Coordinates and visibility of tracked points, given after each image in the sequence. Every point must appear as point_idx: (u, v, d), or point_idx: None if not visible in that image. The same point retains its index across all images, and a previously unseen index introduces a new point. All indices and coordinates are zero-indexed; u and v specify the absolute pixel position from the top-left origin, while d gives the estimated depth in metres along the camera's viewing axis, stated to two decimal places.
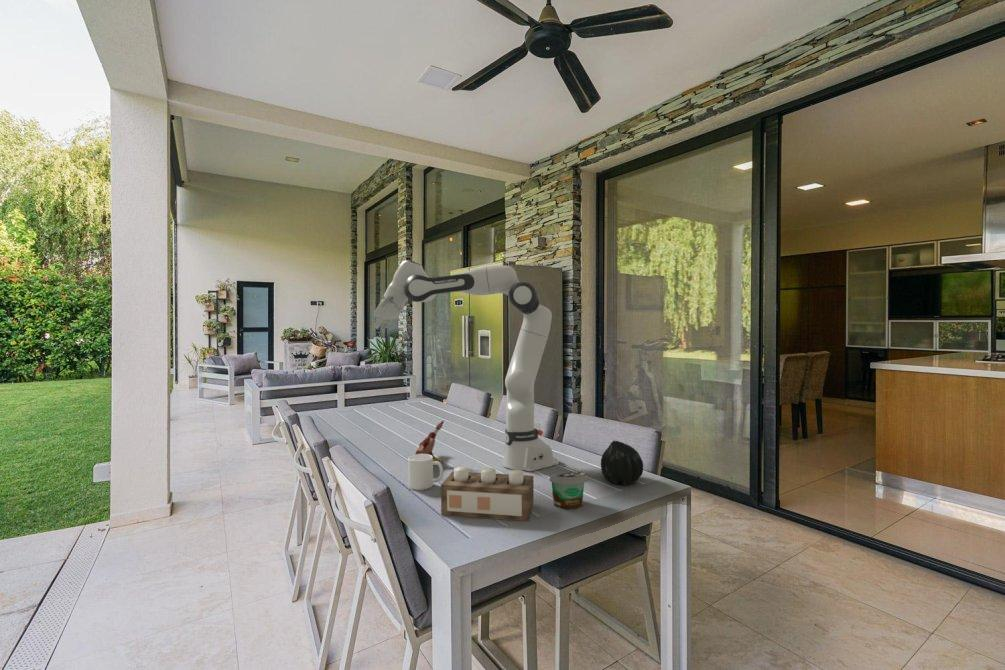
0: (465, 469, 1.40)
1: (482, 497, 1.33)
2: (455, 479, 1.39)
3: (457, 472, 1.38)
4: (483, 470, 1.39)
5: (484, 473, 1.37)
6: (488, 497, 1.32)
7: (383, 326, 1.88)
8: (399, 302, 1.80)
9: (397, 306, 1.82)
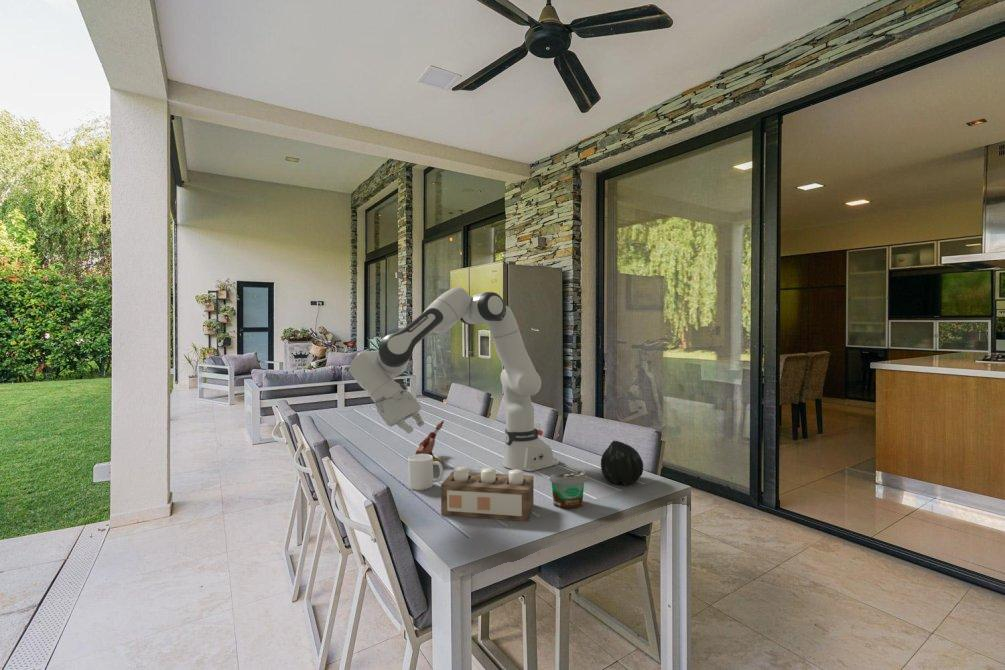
0: (465, 469, 1.40)
1: (482, 497, 1.33)
2: (455, 479, 1.39)
3: (457, 472, 1.38)
4: (483, 470, 1.39)
5: (484, 473, 1.37)
6: (488, 497, 1.32)
7: (420, 424, 1.47)
8: (392, 391, 1.41)
9: (397, 396, 1.42)
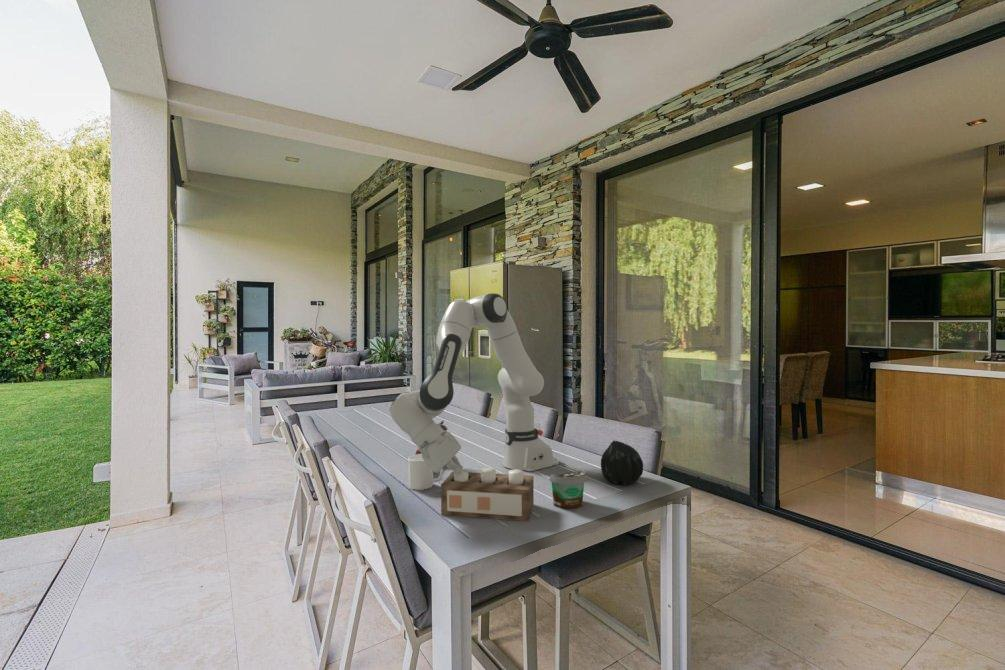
0: (465, 473, 1.40)
1: (482, 497, 1.33)
2: None
3: (457, 476, 1.38)
4: (483, 470, 1.39)
5: (484, 473, 1.37)
6: (488, 497, 1.32)
7: None
8: (434, 435, 1.38)
9: (440, 439, 1.40)
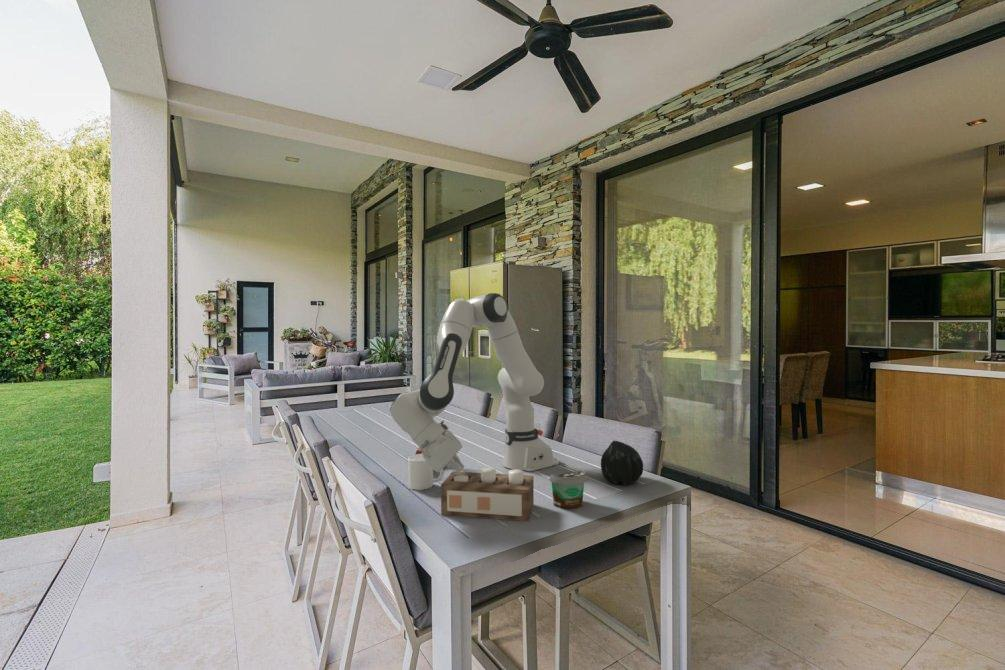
0: (465, 478, 1.40)
1: (482, 497, 1.33)
2: None
3: None
4: (483, 470, 1.39)
5: (484, 473, 1.37)
6: (488, 497, 1.32)
7: None
8: (435, 434, 1.38)
9: (440, 438, 1.40)
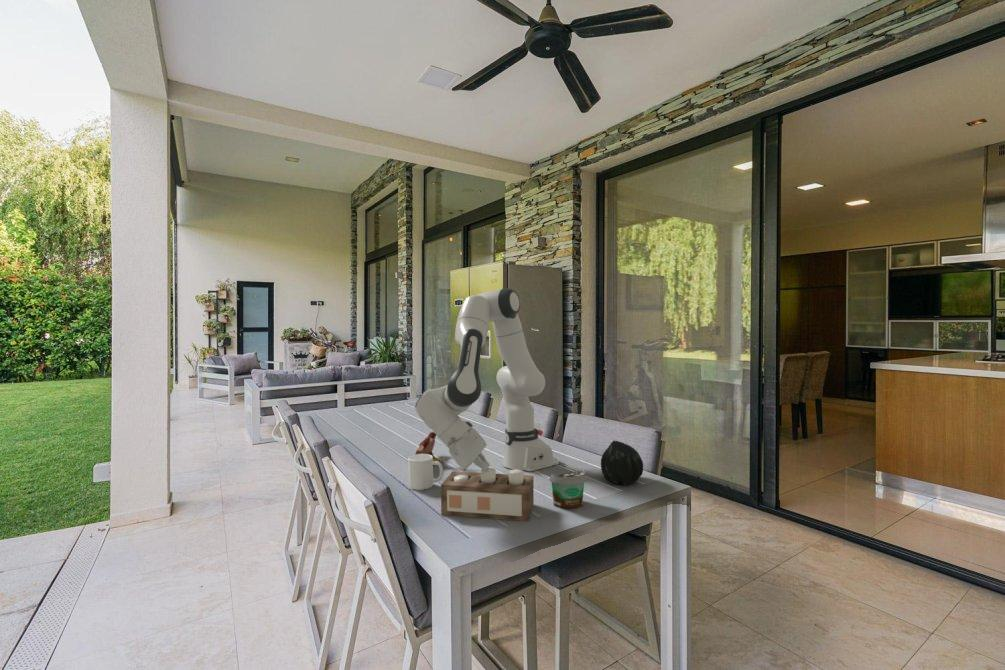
0: (465, 478, 1.40)
1: (482, 497, 1.33)
2: None
3: None
4: None
5: (484, 473, 1.37)
6: (488, 497, 1.32)
7: None
8: (461, 431, 1.37)
9: (466, 436, 1.38)
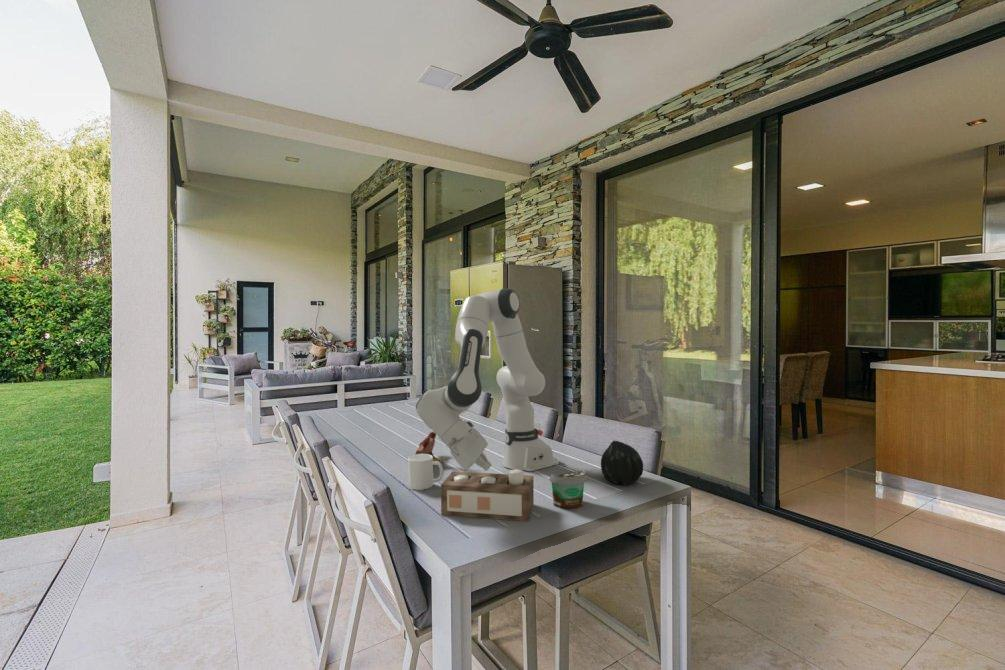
0: (465, 478, 1.40)
1: (482, 497, 1.33)
2: None
3: None
4: (483, 479, 1.39)
5: (484, 482, 1.37)
6: (488, 497, 1.32)
7: None
8: (462, 432, 1.37)
9: (467, 436, 1.38)
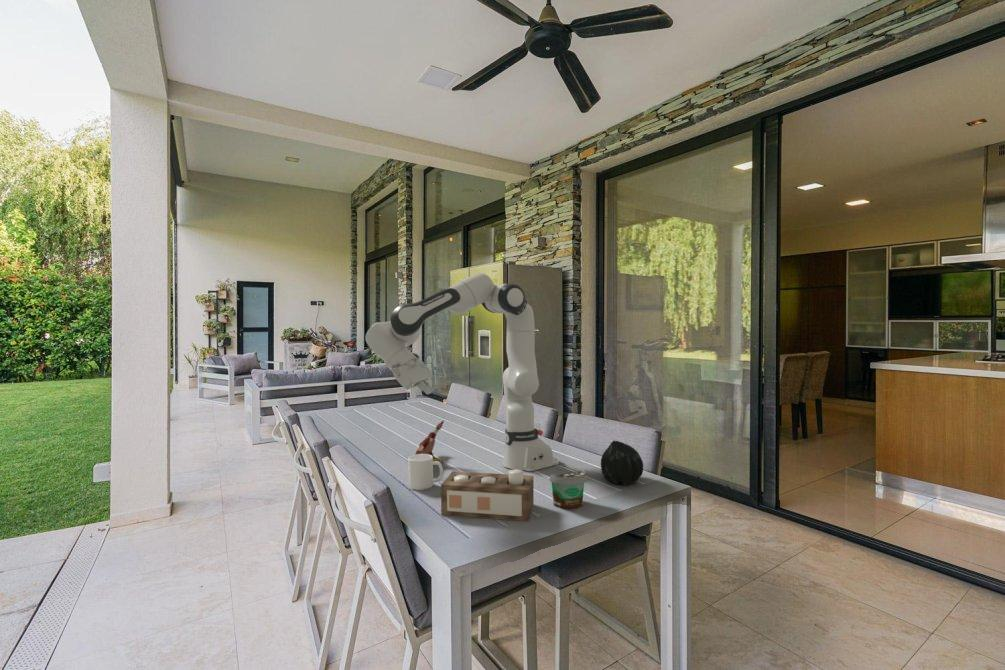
0: (465, 478, 1.40)
1: (482, 497, 1.33)
2: None
3: None
4: (483, 479, 1.39)
5: (484, 482, 1.37)
6: (488, 497, 1.32)
7: None
8: (406, 358, 1.51)
9: (411, 363, 1.52)
